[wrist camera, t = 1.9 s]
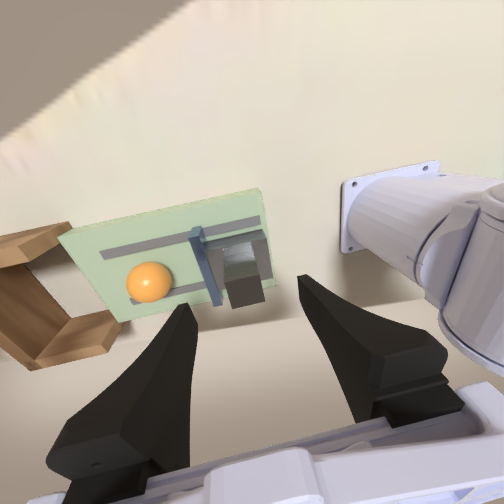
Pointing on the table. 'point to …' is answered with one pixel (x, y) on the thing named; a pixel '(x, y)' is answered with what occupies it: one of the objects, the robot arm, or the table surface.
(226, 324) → the table surface
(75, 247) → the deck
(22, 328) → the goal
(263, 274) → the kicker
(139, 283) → the ball
